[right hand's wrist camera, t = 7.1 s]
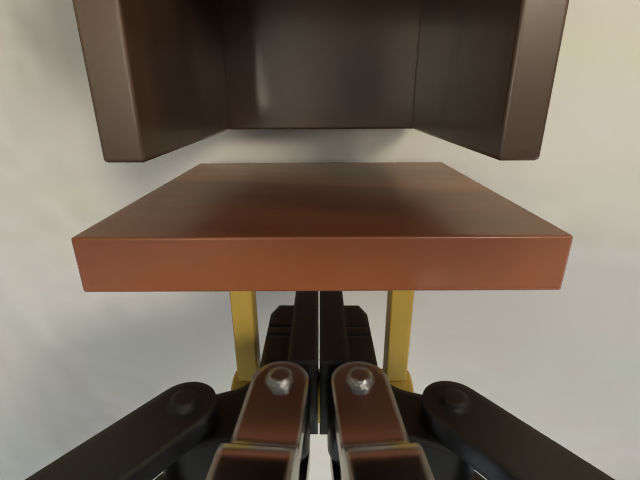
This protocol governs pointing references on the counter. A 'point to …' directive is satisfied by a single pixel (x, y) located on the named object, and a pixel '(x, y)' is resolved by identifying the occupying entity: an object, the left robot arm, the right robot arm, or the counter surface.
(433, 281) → the drawer
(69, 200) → the counter surface
